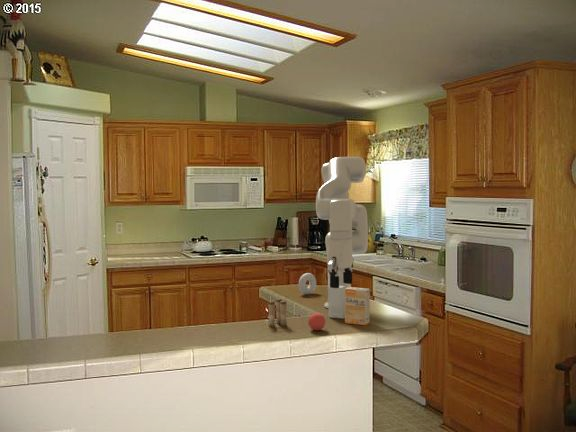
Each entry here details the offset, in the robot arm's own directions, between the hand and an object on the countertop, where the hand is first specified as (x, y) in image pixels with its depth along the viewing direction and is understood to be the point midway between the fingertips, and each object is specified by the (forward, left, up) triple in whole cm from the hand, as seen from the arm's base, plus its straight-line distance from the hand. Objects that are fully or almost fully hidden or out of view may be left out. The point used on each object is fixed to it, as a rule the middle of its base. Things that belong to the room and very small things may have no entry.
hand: (341, 285), depth 204 cm
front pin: (0, -24, -17) cm, 29 cm away
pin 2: (-3, -27, -17) cm, 32 cm away
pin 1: (+2, -27, -17) cm, 32 cm away
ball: (0, -10, -14) cm, 17 cm away
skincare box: (-21, -13, -17) cm, 30 cm away
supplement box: (-16, -2, -17) cm, 23 cm away
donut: (-54, -46, -17) cm, 73 cm away
